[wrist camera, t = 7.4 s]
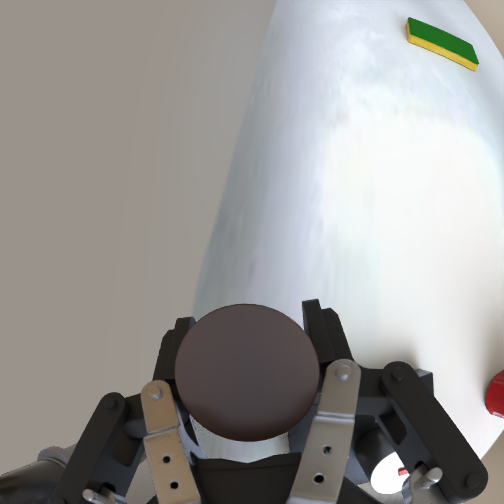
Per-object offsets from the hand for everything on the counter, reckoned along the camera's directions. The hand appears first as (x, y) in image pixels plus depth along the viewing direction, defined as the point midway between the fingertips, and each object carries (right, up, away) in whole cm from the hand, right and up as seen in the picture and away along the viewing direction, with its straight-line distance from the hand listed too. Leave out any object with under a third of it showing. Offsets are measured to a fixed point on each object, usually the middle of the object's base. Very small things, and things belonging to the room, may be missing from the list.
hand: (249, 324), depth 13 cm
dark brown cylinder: (+1, -3, +5) cm, 6 cm away
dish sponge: (+34, +41, +21) cm, 57 cm away
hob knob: (+12, -14, +7) cm, 20 cm away
